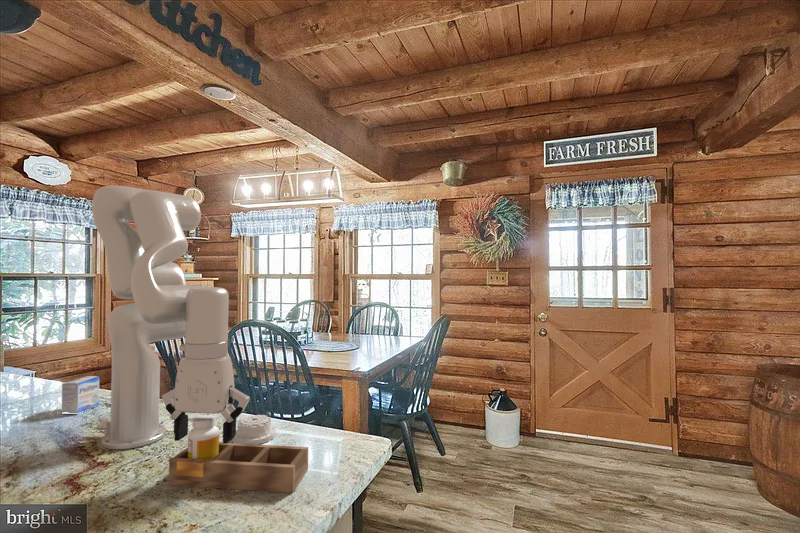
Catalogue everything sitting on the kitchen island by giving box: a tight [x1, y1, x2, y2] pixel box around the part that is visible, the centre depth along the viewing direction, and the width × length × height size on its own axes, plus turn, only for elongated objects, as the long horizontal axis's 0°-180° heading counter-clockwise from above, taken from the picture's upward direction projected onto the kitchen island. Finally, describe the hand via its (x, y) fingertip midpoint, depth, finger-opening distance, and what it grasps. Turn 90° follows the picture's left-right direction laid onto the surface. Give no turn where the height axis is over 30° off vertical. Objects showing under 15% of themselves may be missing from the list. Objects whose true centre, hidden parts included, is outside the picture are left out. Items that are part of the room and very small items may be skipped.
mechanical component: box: [231, 414, 277, 445], centre depth 96 cm, size 10×4×10 cm
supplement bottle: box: [187, 414, 220, 460], centre depth 78 cm, size 5×5×10 cm
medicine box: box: [61, 375, 100, 413], centre depth 113 cm, size 8×4×9 cm, turn 179°
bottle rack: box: [168, 441, 309, 494], centre depth 77 cm, size 24×9×4 cm, turn 85°
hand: (204, 439), depth 78 cm, fingers open, 9 cm apart
